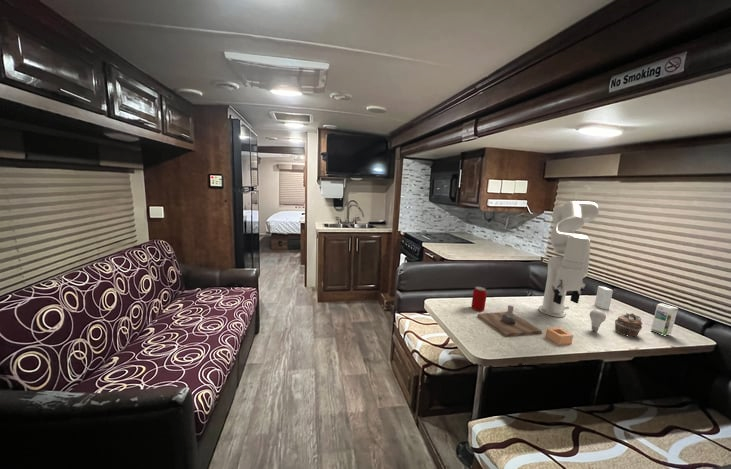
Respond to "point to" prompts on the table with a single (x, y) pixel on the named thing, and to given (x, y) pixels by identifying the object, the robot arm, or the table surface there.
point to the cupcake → (628, 324)
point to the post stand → (509, 323)
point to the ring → (559, 336)
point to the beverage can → (479, 298)
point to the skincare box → (603, 297)
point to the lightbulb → (597, 318)
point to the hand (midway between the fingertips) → (565, 302)
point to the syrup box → (664, 319)
